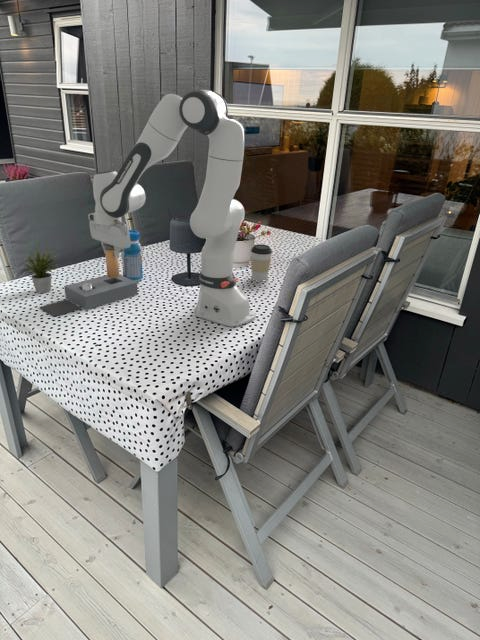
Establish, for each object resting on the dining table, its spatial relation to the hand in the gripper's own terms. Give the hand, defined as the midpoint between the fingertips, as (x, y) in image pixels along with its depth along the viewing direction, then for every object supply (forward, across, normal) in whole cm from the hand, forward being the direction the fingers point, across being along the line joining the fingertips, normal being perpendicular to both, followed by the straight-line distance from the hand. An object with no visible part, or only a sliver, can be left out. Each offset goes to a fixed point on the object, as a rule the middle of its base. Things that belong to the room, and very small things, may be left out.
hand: (111, 255), depth 166 cm
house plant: (+15, +18, +19) cm, 31 cm away
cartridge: (+8, 0, 0) cm, 8 cm away
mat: (+15, 0, +22) cm, 27 cm away
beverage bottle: (+15, +8, -15) cm, 23 cm away
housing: (+15, 0, +5) cm, 16 cm away
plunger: (+14, 0, +11) cm, 18 cm away
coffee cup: (+16, -27, -56) cm, 64 cm away
